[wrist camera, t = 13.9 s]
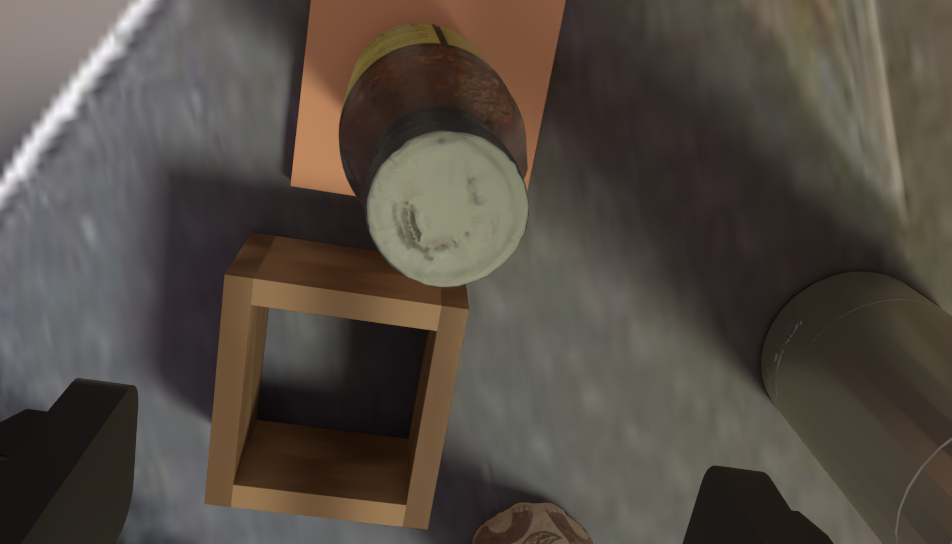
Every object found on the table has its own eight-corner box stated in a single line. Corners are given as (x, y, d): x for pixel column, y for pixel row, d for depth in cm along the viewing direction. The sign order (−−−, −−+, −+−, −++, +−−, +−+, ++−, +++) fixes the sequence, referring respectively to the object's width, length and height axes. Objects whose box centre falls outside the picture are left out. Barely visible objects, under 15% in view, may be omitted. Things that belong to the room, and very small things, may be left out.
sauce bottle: (340, 141, 40) (268, 302, 22) (367, 3, 38) (314, 48, 20) (478, 172, 41) (524, 353, 22) (512, 39, 39) (592, 116, 20)
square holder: (463, 263, 43) (468, 309, 38) (427, 460, 47) (427, 529, 41) (251, 232, 42) (224, 274, 37) (231, 436, 46) (204, 503, 40)
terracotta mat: (566, -17, 39) (569, -16, 38) (519, 217, 43) (520, 222, 42) (319, -63, 38) (318, -63, 37) (293, 181, 42) (290, 186, 41)
